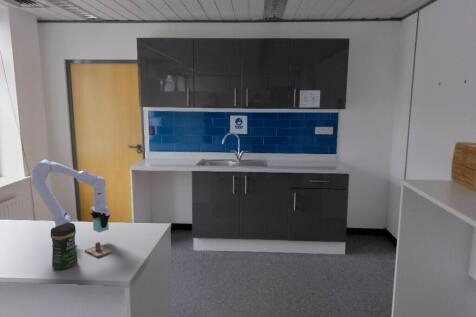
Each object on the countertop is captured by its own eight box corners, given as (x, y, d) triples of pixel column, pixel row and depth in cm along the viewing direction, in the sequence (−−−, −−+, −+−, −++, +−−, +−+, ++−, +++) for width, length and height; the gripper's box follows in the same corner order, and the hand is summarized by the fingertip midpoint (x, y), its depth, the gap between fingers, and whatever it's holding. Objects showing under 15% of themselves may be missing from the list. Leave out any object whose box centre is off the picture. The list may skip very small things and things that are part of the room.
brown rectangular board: (84, 251, 156) (84, 241, 155) (98, 247, 162) (98, 237, 161) (97, 258, 150) (97, 247, 149) (111, 252, 155) (111, 242, 154)
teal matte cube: (93, 230, 166) (92, 218, 165) (102, 227, 170) (102, 216, 170) (99, 232, 163) (98, 221, 162) (108, 229, 167) (108, 218, 167)
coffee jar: (63, 272, 136) (61, 229, 134) (48, 269, 139) (46, 227, 136) (81, 262, 146) (78, 222, 143) (66, 259, 148) (64, 220, 145)
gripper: (115, 201, 164) (116, 227, 166) (99, 196, 172) (100, 221, 174) (102, 204, 158) (103, 231, 160) (86, 199, 166) (87, 224, 168)
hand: (100, 226), depth 167 cm, fingers closed on teal matte cube, 5 cm apart
